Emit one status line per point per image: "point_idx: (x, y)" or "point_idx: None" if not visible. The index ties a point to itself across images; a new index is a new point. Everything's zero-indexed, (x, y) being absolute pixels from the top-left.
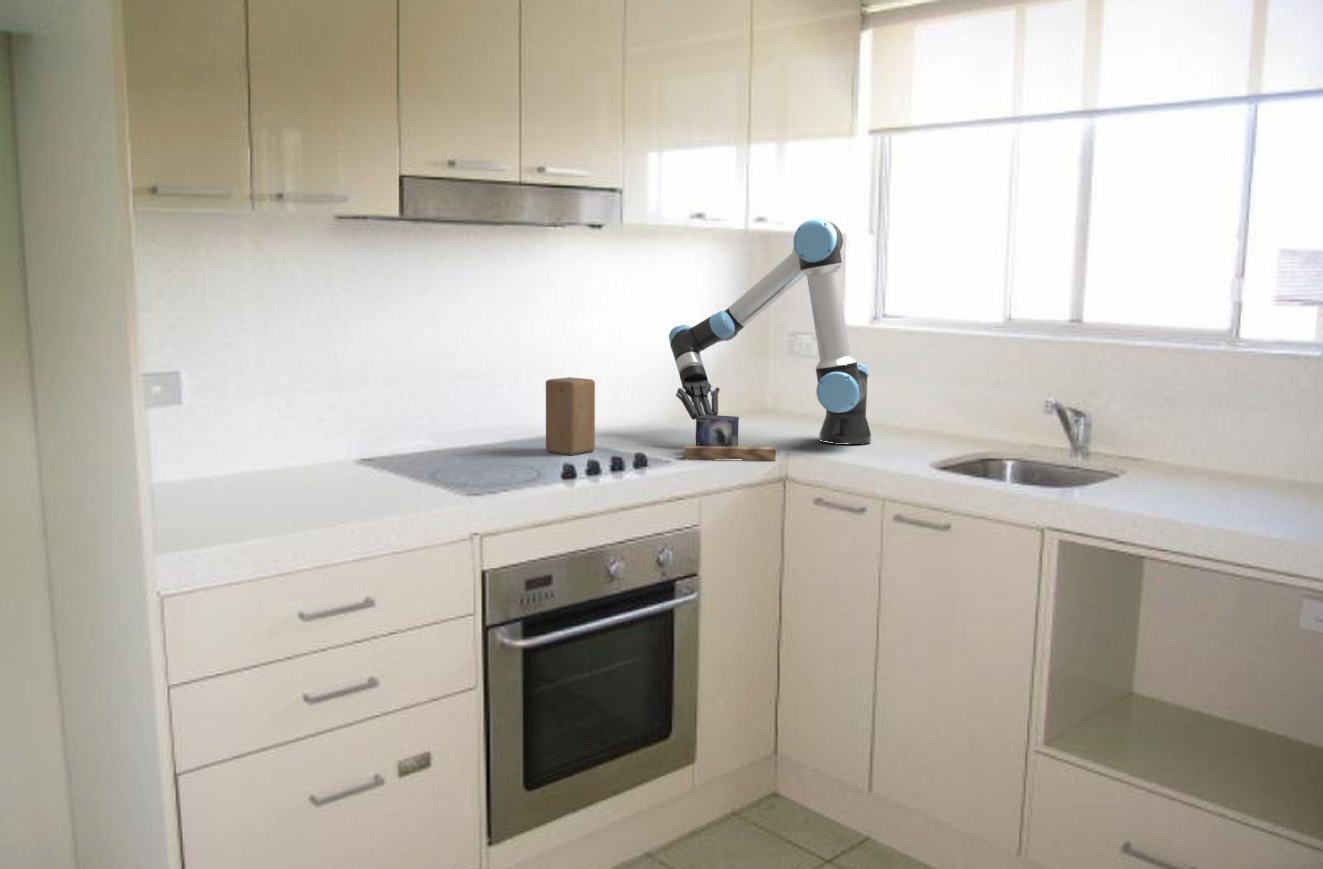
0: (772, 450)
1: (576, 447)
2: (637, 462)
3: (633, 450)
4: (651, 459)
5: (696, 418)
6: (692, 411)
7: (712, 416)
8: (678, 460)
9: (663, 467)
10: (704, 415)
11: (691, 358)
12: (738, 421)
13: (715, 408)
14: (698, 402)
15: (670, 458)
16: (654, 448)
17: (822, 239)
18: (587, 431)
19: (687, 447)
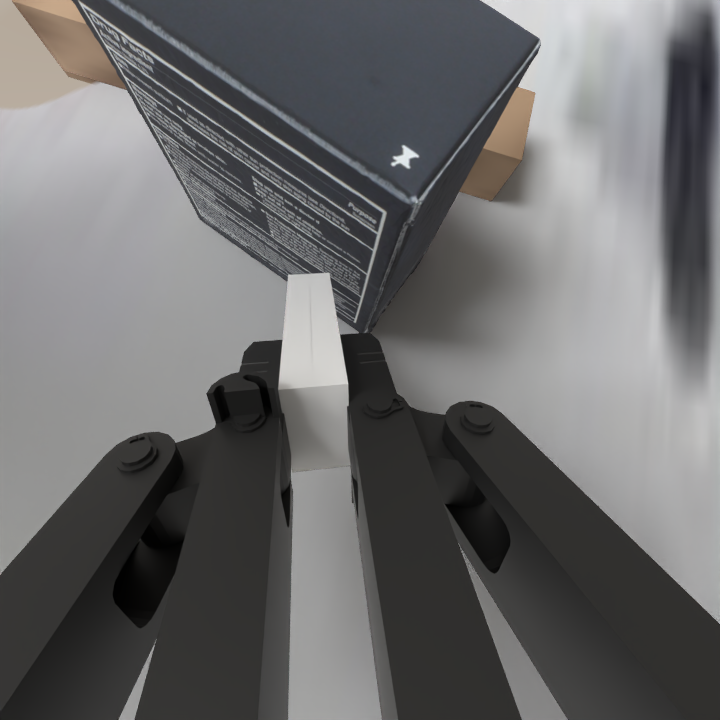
0: None
1: None
2: (702, 125)
3: (716, 443)
4: (643, 177)
5: (532, 47)
6: (525, 446)
7: (360, 10)
8: (532, 129)
9: (611, 8)
10: (430, 106)
11: None
12: (80, 13)
13: (96, 527)
14: (454, 673)
15: (560, 183)
16: (605, 497)
17: None
18: None
19: (517, 100)
